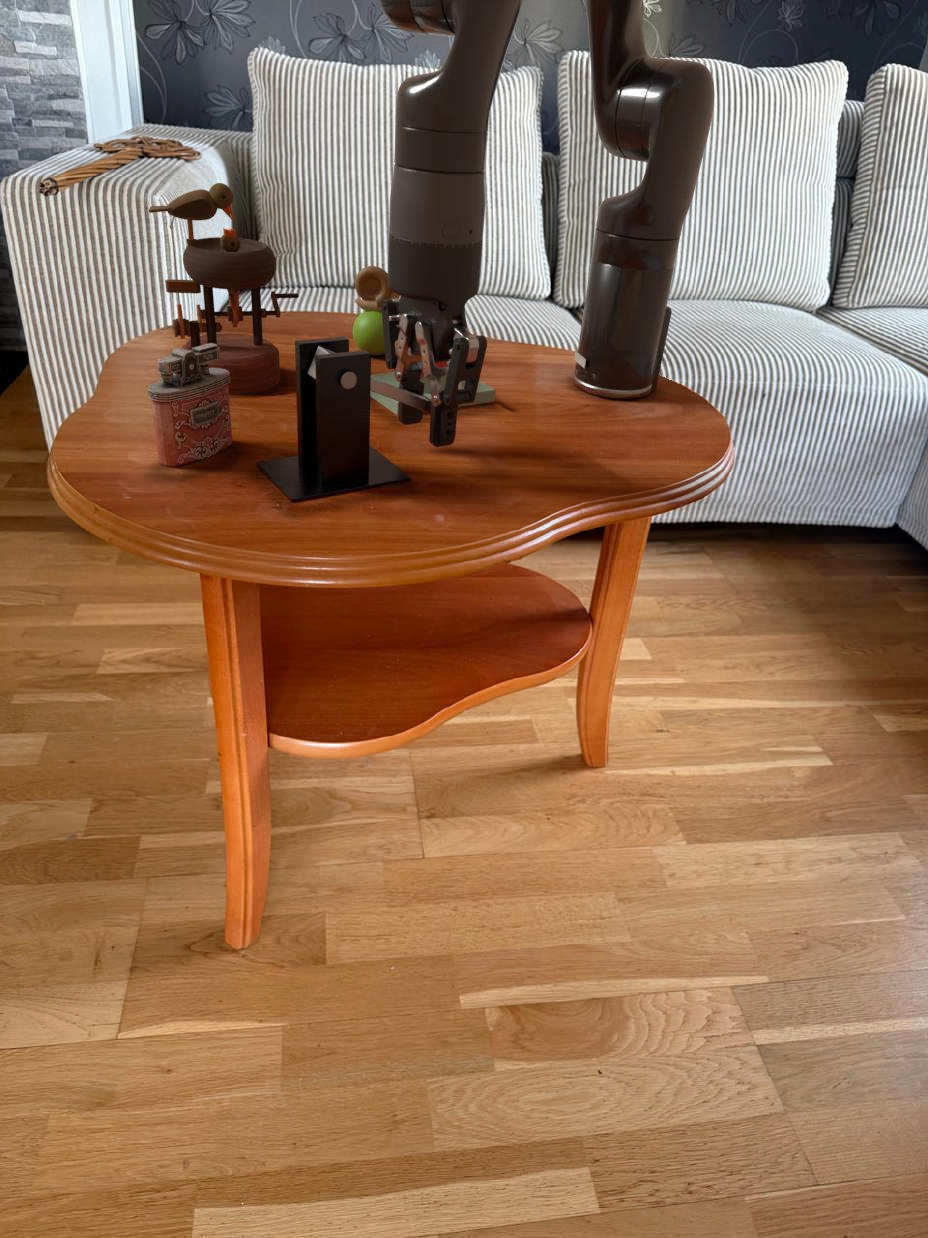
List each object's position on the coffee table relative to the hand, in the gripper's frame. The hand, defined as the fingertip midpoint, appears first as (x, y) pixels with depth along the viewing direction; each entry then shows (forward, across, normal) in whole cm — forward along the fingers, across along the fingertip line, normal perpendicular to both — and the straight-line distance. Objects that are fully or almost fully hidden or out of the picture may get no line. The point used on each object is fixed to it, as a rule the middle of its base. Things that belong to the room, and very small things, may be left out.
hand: (425, 432), depth 79 cm
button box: (+3, +15, -9) cm, 18 cm away
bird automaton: (+4, +29, +7) cm, 30 cm away
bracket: (+3, 0, +9) cm, 10 cm away
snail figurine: (+4, +32, -12) cm, 34 cm away
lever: (-4, 0, +5) cm, 7 cm away
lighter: (+4, +8, +18) cm, 21 cm away
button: (0, +15, -9) cm, 17 cm away
